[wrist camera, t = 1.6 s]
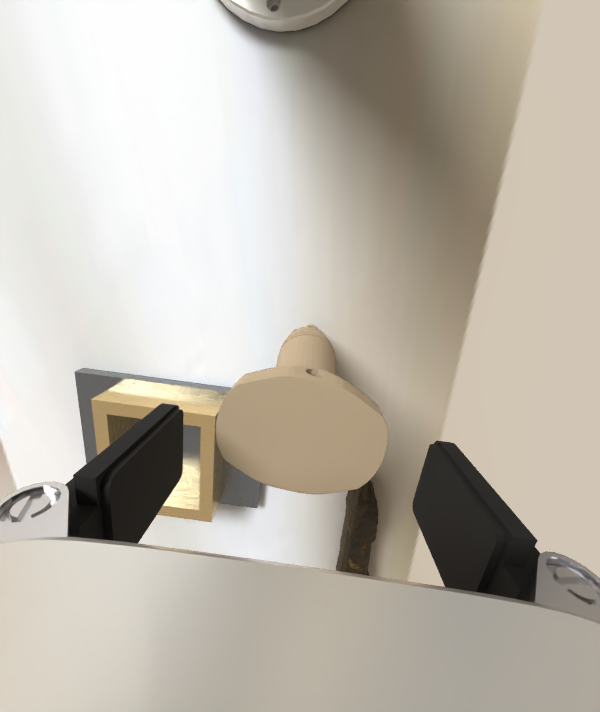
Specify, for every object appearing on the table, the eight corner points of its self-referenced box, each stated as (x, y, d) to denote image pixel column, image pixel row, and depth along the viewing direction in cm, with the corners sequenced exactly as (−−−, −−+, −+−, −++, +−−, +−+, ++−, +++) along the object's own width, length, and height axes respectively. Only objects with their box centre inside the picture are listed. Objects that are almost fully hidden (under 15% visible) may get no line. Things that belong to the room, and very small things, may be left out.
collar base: (83, 368, 26) (44, 384, 23) (269, 392, 26) (261, 413, 22) (96, 478, 30) (65, 508, 26) (258, 500, 30) (250, 534, 26)
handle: (336, 374, 25) (365, 506, 11) (268, 358, 25) (208, 473, 11) (350, 323, 24) (405, 401, 10) (278, 306, 24) (224, 360, 10)
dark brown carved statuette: (360, 589, 34) (367, 637, 29) (327, 586, 34) (330, 633, 29) (389, 460, 28) (403, 495, 24) (350, 456, 28) (357, 490, 24)
